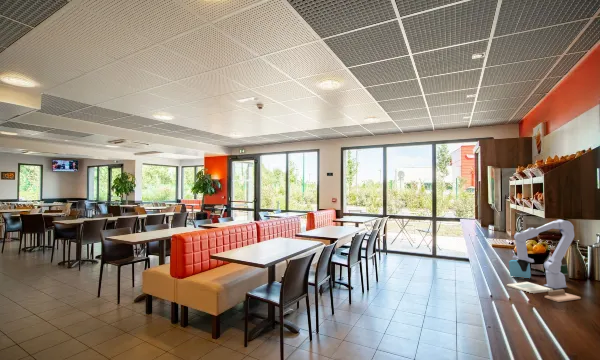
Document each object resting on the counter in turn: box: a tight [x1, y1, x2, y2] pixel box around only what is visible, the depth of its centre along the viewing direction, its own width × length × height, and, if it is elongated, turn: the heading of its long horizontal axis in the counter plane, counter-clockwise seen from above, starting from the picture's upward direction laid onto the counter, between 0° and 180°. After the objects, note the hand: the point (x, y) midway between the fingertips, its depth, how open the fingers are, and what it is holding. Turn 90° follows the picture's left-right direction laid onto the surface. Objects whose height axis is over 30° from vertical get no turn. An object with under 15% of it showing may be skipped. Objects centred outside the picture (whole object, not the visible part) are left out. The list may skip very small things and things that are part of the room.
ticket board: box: [506, 281, 554, 294], centre depth 194 cm, size 16×18×1 cm
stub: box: [544, 288, 581, 303], centre depth 173 cm, size 15×8×4 cm, turn 99°
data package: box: [508, 259, 532, 279], centre depth 219 cm, size 12×4×12 cm, turn 46°
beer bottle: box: [554, 243, 570, 282], centre depth 207 cm, size 8×8×24 cm
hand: (524, 271), depth 200 cm, fingers closed
